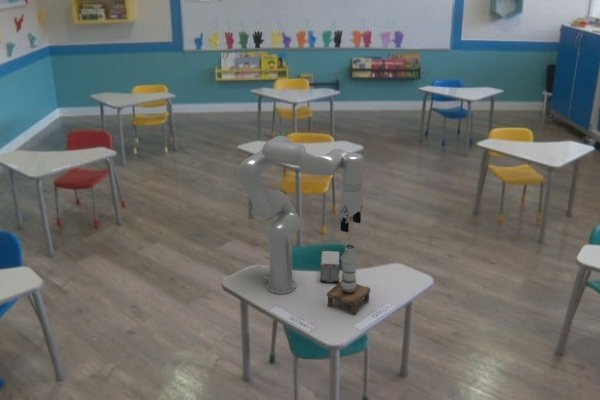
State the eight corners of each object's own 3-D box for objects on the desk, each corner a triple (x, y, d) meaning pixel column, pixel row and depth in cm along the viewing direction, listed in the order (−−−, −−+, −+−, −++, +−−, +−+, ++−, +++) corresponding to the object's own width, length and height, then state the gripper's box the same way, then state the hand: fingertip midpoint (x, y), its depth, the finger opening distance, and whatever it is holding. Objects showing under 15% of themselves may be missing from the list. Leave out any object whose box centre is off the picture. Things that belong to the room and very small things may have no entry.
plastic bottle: (347, 296, 228) (349, 252, 220) (336, 289, 233) (338, 245, 226) (359, 291, 232) (361, 247, 224) (348, 284, 237) (350, 241, 229)
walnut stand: (326, 305, 233) (326, 293, 231) (342, 291, 243) (342, 279, 241) (354, 315, 226) (355, 302, 224) (369, 300, 236) (370, 288, 234)
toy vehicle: (340, 265, 265) (341, 246, 261) (340, 284, 249) (341, 264, 245) (320, 264, 265) (320, 245, 261) (318, 283, 249) (318, 263, 245)
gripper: (354, 177, 223) (352, 216, 230) (332, 190, 210) (330, 232, 217) (371, 180, 220) (369, 221, 226) (349, 195, 206) (348, 237, 213)
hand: (350, 226), depth 221 cm, fingers open, 9 cm apart
